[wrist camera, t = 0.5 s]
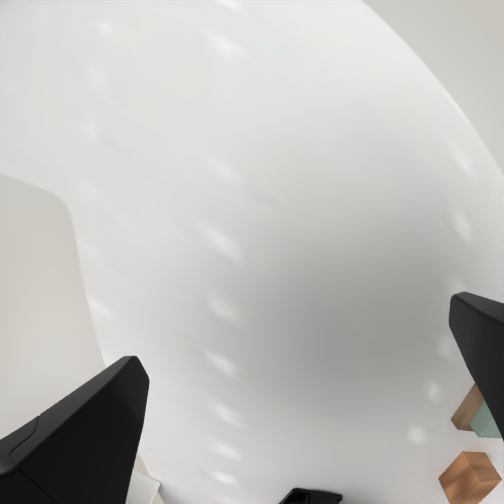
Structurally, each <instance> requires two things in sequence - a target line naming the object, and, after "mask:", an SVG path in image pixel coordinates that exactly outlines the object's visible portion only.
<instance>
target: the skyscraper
mask: <svg viewBox="0 0 504 504" xmlns="http://www.w3.org/2000/svg"><path fill="white" fill-rule="evenodd" d="M159 486H160V482H158V481H156V480H154V479H152V478H150V477H149V476H147V475H145V474H143V473H141V472H139V471H137V470H136V469H134V468H133V471H132V476H131V480H130V485H129V490H128V494H127V499H126V504H153V502H154V499H155V497H156V494H157V491H158V489H159Z"/></svg>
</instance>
